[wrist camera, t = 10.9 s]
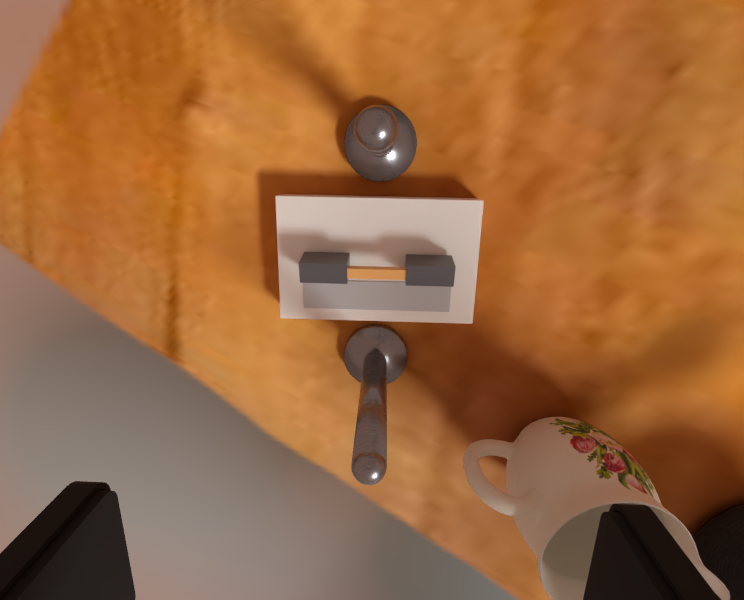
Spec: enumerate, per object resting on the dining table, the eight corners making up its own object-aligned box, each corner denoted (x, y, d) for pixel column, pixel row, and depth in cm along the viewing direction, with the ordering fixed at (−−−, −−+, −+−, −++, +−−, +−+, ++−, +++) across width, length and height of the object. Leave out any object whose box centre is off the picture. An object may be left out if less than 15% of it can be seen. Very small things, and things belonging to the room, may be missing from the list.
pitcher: (474, 366, 41) (516, 462, 28) (652, 425, 42) (774, 544, 29) (431, 462, 44) (450, 589, 31) (598, 514, 45) (685, 658, 32)
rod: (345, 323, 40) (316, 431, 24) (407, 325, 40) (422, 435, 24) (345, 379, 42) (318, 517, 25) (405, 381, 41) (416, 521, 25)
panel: (282, 193, 37) (275, 196, 34) (477, 198, 36) (483, 200, 34) (286, 308, 40) (280, 318, 37) (467, 314, 39) (472, 324, 37)
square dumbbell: (304, 251, 35) (298, 263, 33) (451, 255, 35) (455, 267, 33) (305, 270, 36) (299, 282, 34) (449, 274, 36) (453, 286, 33)
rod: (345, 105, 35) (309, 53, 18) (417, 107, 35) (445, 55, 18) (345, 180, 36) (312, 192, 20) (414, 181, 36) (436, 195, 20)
